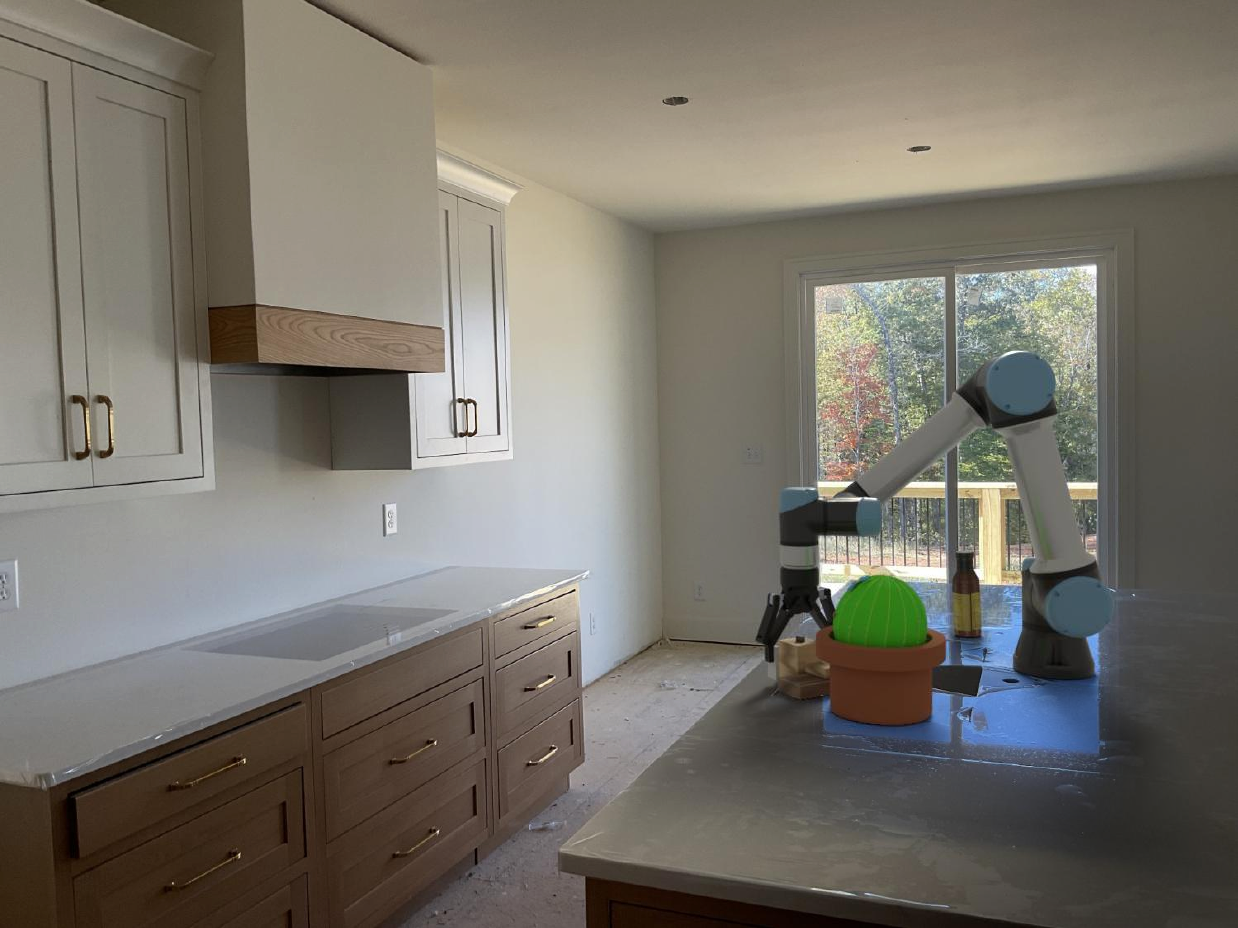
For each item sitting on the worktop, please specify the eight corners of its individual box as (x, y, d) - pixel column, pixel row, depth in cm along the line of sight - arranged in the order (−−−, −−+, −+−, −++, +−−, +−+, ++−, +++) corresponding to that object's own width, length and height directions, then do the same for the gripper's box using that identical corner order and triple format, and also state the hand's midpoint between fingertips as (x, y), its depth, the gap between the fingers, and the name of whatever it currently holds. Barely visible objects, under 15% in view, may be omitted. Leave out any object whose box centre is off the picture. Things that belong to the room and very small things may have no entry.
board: (891, 682, 189) (891, 669, 189) (800, 700, 179) (800, 686, 179) (867, 674, 195) (866, 662, 195) (777, 690, 185) (777, 677, 185)
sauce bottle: (977, 632, 230) (977, 549, 229) (985, 638, 224) (984, 552, 223) (949, 632, 231) (949, 549, 230) (956, 638, 225) (955, 553, 224)
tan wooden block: (844, 690, 185) (843, 643, 184) (818, 695, 182) (818, 647, 182) (803, 675, 196) (803, 631, 195) (779, 679, 193) (778, 635, 193)
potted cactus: (957, 702, 175) (957, 565, 174) (929, 738, 157) (928, 585, 155) (839, 687, 187) (838, 558, 185) (799, 719, 168) (797, 576, 166)
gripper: (836, 558, 200) (836, 661, 201) (736, 568, 189) (738, 677, 190) (860, 562, 193) (861, 669, 194) (759, 574, 182) (760, 687, 183)
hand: (800, 673), depth 192 cm, fingers open, 12 cm apart
